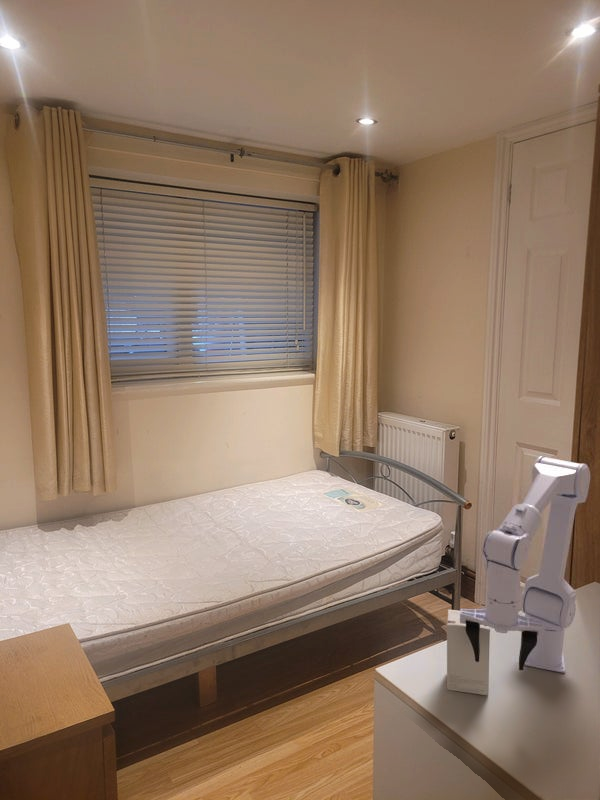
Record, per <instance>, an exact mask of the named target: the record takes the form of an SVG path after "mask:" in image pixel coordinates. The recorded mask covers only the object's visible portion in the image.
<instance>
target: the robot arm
mask: <svg viewBox="0 0 600 800" xmlns="http://www.w3.org/2000/svg"><path fill="white" fill-rule="evenodd" d="M531 479H532V480H531V482H532V484H531V486H530V488H529V490H528V492H527V495H526V496H525V498H524V500H523V502H522V503H517V504H515V505H513V506H512V508H511V509H510V511H509V512H508V514H507V516H506V517H505V518H504V519H503V521H502V523H501V524H500V526H499V527H498V528H497V529H494V530H490V531H489V532H488V533H487V534H486V535H485V537H484V539H483V543H482V547H481V555H482V558H483V559H484V568H485V570H486V571H487V572H486V589H485V591H486V592H485V593H486V594H485V608H479V609H478V608H477V609H474V608H473V609H470V608H469V609H468V608H460V610H459V611H460V623H462V624H466V628H465V630H466V634H467V636H468V638H469V640H470V642H471V644H472V647H473V650H474V655H475V661H476V662H479V655H480V644H479V633H480V625H486V626H488V627H490V629H491V628H492V629H494V632H496V633H500V634H507V633H508V632H521V636H520V639H521V640H520V648H519V655H518V670H520V671H523V670H524V667H525V666H527V667H533V668H538V669H541V670H543V669H544V670H546V671H547V670H548V671H552V672H557V673H566V666H565V657H564V651H563V650H564V640H565V638H564V637H565V629H567V628H570V627H571V625H573V622H574V619H575V617H576V616H575V615H576V610H577V607H576V606H577V605H576V599H577V594H576V590H575V589H574V588H573V587H572V586H571V585H570V584H569V583H568V582H567V580H566V579H565V573H566V568H567V562H568V561H567V560H568V555H569V550H570V546H571V545H570V544H571V537H572V532H573V526H574V520H575V515H576V510H577V507H578V505H579V504H581V503H585V502H586V501H587V498H588V493H589V489H590V488H589V487H590V483H591V482H590V481H591V470H590V468H589V467H588V464H586V463H578V462H573V461H567V460H562V459H558V458H551V457H546V456H545V455H540V456H538V458H536V459H535V460H534V463H533V465H532V469H531ZM549 505H550V507H549V508H550V509H549V514H548V520H547V526H546V530H545V531H546V532H545V537H544V543H543V548H542V549H543V550H542V555H541V560H540V566H539V572H538V574H534V575H531V576H530V577H528V578H527V579H526V581H525V583H524V585H523V586H524V587H523V590H522V592H521V580H522V579H521V577H522V568H523V567H524V565H525V564H526V562H527V559H528V555H529V552H530V550H531V548H532V546H531V541H532V540H533V538H534V537H535V535H536V534H537V532H538V530H539V529H540V527H541V525H542V523H543V519H542V513H543V512H544V511H545V509H547V507H548V506H549ZM519 610H520V611H521V612H522V613H523V614H525V615H521V614H519Z"/></svg>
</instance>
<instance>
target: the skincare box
mask: <svg viewBox="0 0 600 800" xmlns="http://www.w3.org/2000/svg"><path fill="white" fill-rule="evenodd" d="M460 611H461V610H456V609H448V610H447V618H446V619H447V621H446V689H447V690H449V691H455V692H462V693H467V694H468V693H469V694H473V695H474V694H475V695H483V696H489V689H490V686H489V682H490V646H491V645H490V644H491V643H490V641H491V640H490V638H491V637H490V636H491V627H488V626H486V625H480V633H479V644H480V655H479V662H476V661H475V655H474V650H473V647H472V644H471V642H470V640H469V638H468V636H467V634H466V630H465V628H466V624H462V623H460Z"/></svg>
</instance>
